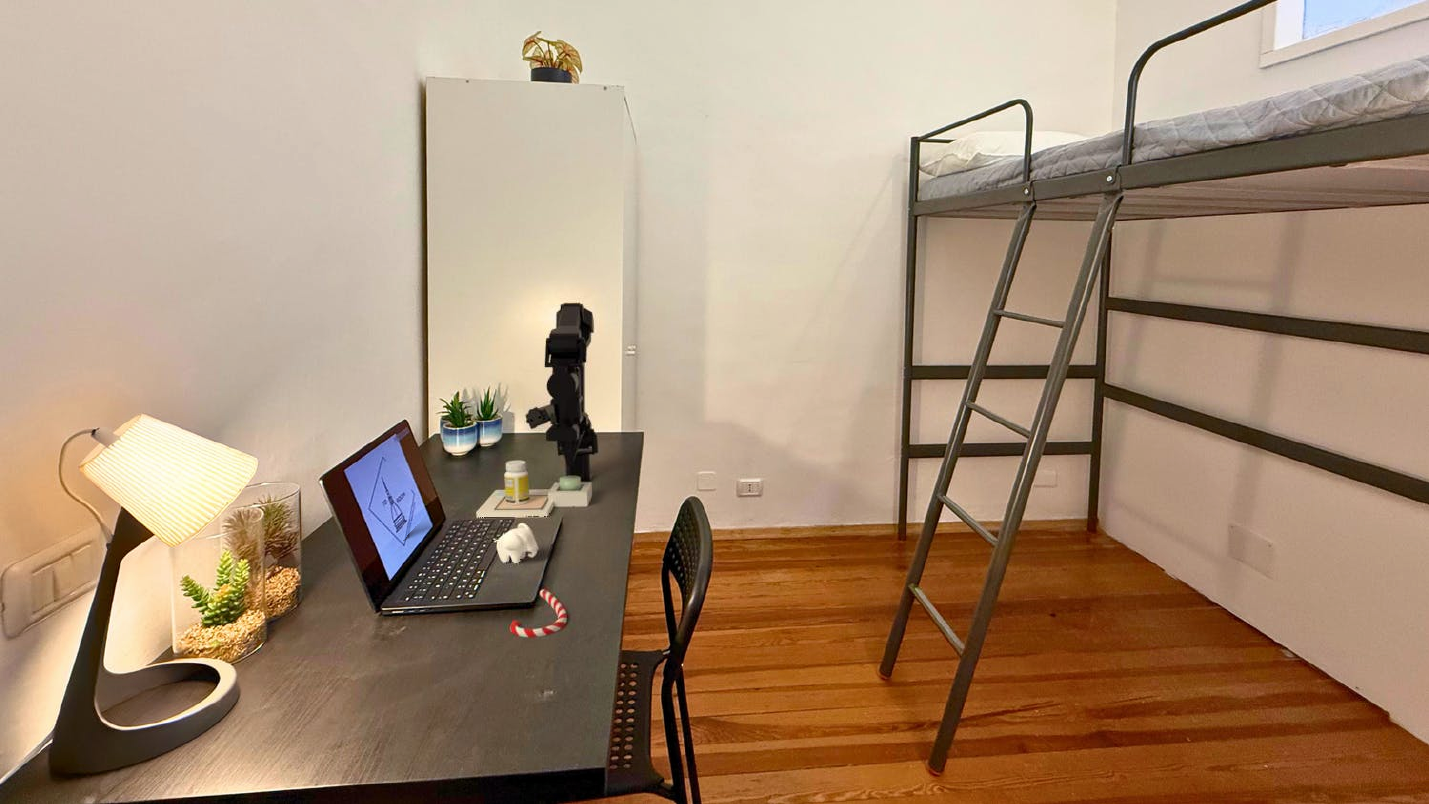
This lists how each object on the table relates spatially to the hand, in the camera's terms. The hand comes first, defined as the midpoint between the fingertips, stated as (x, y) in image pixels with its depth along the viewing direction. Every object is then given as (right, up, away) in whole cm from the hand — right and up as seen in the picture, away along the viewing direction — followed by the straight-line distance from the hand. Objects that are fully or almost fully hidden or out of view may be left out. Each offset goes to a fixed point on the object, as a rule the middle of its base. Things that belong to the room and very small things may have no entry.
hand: (569, 465), depth 172 cm
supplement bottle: (-10, -7, -4) cm, 13 cm away
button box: (0, -8, +1) cm, 8 cm away
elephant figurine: (-3, -14, -33) cm, 36 cm away
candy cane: (+5, -18, -54) cm, 57 cm away
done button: (0, -5, +1) cm, 5 cm away
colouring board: (-10, -8, -2) cm, 13 cm away
